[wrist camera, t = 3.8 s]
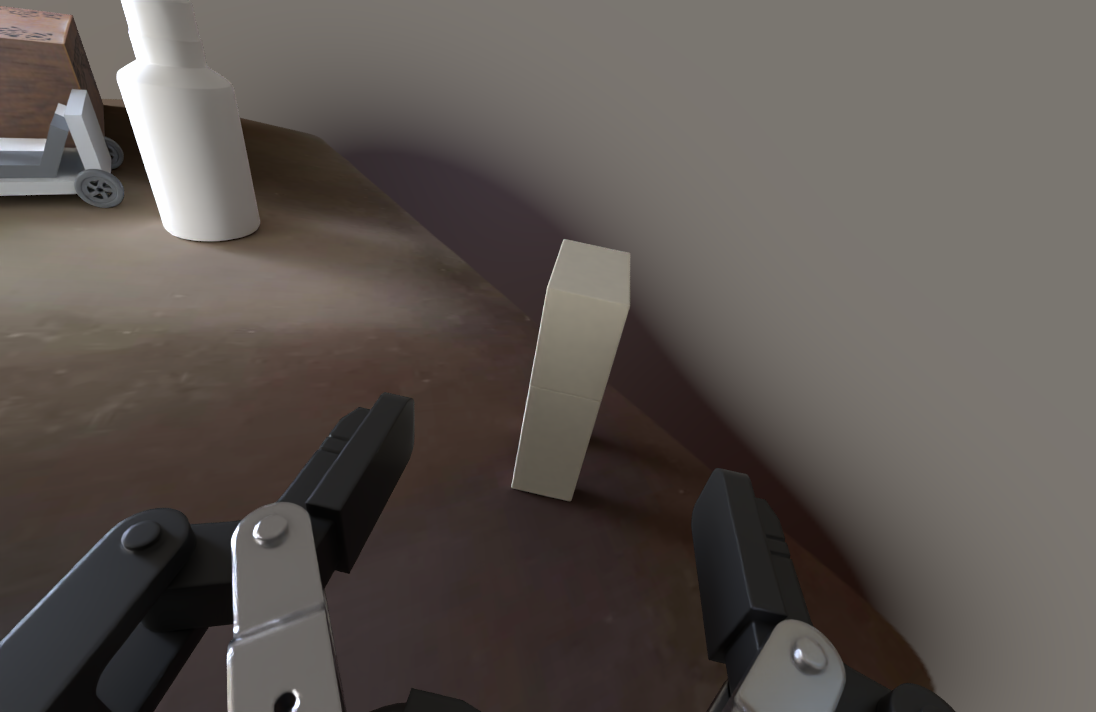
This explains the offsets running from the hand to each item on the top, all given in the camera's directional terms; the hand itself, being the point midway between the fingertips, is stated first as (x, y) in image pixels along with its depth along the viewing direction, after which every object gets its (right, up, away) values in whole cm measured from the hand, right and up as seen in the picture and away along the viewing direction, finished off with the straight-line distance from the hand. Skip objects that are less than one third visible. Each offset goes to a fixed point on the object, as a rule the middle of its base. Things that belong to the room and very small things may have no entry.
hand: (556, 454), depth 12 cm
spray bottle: (-29, +13, +28) cm, 42 cm away
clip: (0, -3, +12) cm, 13 cm away
